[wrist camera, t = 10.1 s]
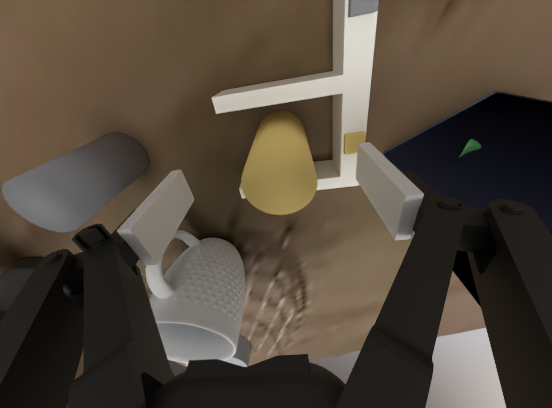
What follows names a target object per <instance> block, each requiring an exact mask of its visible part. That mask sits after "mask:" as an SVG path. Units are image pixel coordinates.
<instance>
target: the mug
mask: <svg viewBox="0 0 552 408" xmlns="http://www.w3.org/2000/svg"><path fill="white" fill-rule="evenodd" d="M174 238H178V239H181V240H183V241H184V242H185V243H186V244H187V245H188V246H189V247H188V248H187V249H186V250H185V251H184V252H183V253H182V254H181V255H180V256H179V257H178V258H177V259H176V260H175V261H174V262H173V264H172V265H171V266H170V268H169V269H168V270H167V271H166V273H165V275H164V276H163V270H162V262H163V257H164V254H163V255H162V257H161V259H160V261H159V262H158V264H157V265H147V266H146V278H147V282H148V285H149V288H150V289H151V291H152V292H153V294H152V296H151V297H150V300H149V301H150V305H151V308H152V311H153V314H154V317H155V321H156V324H157V327H158V330H159V333H160V336H161V340H162V343H163V346H164V349H165V352H166V356H167V359H168V360H172V361H176V362H182V363H189V360H207V359H219V360H222V361H226V360H228V359H230V358H232V357H233V356H234V355H235V353H236V350H237V345H238V339H239V332H240V326H241V322H242V313H243V308H244V298H245V295H244V294H245V273H244V266H243V261H242V259H241V257H240V254H239V252H238V250H237V249H236V248H235V247H234V246H233V245H232V244H231V243H230V242H228V241H226V240H223V239H220V238H206V239H202V240H200V241H199V240H198V239H197V238H196V237H194V236H193V235H191V234H190V233H188V232H186V231H182V230H177V231H176V233H175V235H174V236H173V238H172V240H173V239H174ZM164 253H165V252H164Z"/></svg>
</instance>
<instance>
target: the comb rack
mask: <svg viewBox="0 0 552 408" xmlns="http://www.w3.org/2000/svg"><path fill="white" fill-rule="evenodd" d="M378 2H379V0H333V71H329V72H324V73H318V74H312V75H307V76H301V77H295V78H290V79H284V80H278V81H273V82H267V83H261V84H256V85H250V86H244V87H239V88H233V89H227V90H223V91H221V92H220V93H218V94H217V95H215V96H213V97H212V101H213V105H214V108H215V111H216V114H219V113H225V112H231V111H237V110H243V109H249V108H255V107H262V106H268V105H274V104H280V103H286V102H292V101H298V100H304V99H311V98H317V97H323V96H329V95H333V160H325V161H317V162H313V163H314V167H315V171H316V175H317V190H323V189H332V188H341V187H350V186H359V183H358V181H357V180H356V166H357V153H358V144H360V143H365V139H366V128H367V117H368V107H369V96H370V86H371V75H372V65H373V54H374V44H375V33H376V23H377V12H378ZM239 190H240V194H241V197H242V199H243V198H246V197H245V195H244V193H243V190H242V186H241V184H240V187H239Z"/></svg>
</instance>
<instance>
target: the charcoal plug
mask: <svg viewBox="0 0 552 408" xmlns="http://www.w3.org/2000/svg"><path fill="white" fill-rule="evenodd" d="M148 165H149V159H148V155H147V153H146V151H145V149H144V148H143V147H142V146H141V144H140V143H138V142H137V141H136V140H135V139H133V138H132V137H130V136H128V135H126V134H122V133H110V134H107V135H105V136H103V137H101V138H99V139H97V140H94V141H92V142H90V143H88V144H86V145H84V146H82V147H79V148H77V149H75V150H73V151H71V152H69V153H66V154H64V155H62V156H60V157H58V158H56V159H53V160H51V161H49V162H47V163H45V164H43V165H40V166H38V167H36V168H34V169H32V170H30V171H27V172H25V173H23V174H21V175H19V176H17V177H14V178H12V179H10V180H8V181H6V182H5V183H4V184H3V187H2V193H3V196H4V198H5V200H6V202H7V203H8V204H9V206H10V207H11V208H12V209H13V210H14V211H15V212H16V213H18V214H19V215H20V216H22V217H23V218H24V219H26V220H28V221H29V222H31V223H33V224H35V225H37V226H39V227H42V228H44V229H47V230H51V231H55V232H72V231H75V230H76V229H78V228H79V227H80V226H81V225H82V224H83V223H85V222H86V221H87V220H88V219H89V218H91V217H92V216H93V215H94V214H95V213H96V212H98V211H99V210H100V209H101V208H102V207H103V206H105V205H106V204H107V203H108V202H109V201H111V200H112V199H113V198H114V197H115V196H116V195H118V194H119V193H120V192H121V191H122V190H123V189H125V188H126V187H127V186H128V185H129V184H131V183H132V182H133V181H134V180H135V179H136V178H138V177H139V176H140V175H141V174H142V173H143V172H145V171H146V170H147V168H148Z"/></svg>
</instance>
